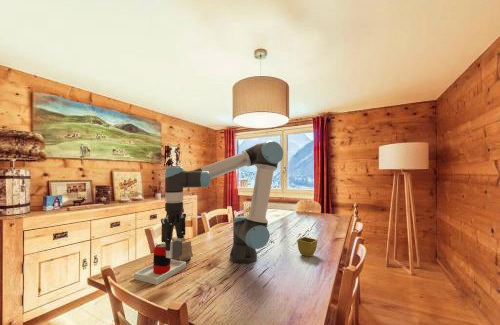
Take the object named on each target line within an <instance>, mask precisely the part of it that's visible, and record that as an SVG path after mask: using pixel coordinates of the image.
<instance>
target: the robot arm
mask: <svg viewBox="0 0 500 325" xmlns="http://www.w3.org/2000/svg"><path fill="white" fill-rule="evenodd" d="M283 159H284V149H283V147H282V146H281V144H280V143H279V142H278V141H275V140H266V141H264V142H259V143H256V144H255V145H253V146H251V147H248V148H246V149H244V150H242V151H241V153H238V154H234V155H232V156H229V157H226V158H224V159H221V160H218V161H216V162H213V163H209V164H207V165H204V166H201V167H199V168H197V169H196V168H195V169H193V170H188V171H187V170H184V167H183V166H167V167H166V168H165V176H164V186H165V187H164V190H165V191H164V192H165V194H164V196H165V198H164V199H165V200H164V201H165V202H164V211H165V212H166V215H165V217H164V218H161V219H160V223H161V237H160V238H161V240H160V241H161V243H165V244H166V247H165V250H166V258H172V247H173V242H172V237H173V232H174V228H175V235H176V237H178V238H176V241H182V238H185V236H186V217H187V214H186V213H183V212H182V211H183V210H184V189H185V188H208V187H209V186H210V184H211V180H212V179H214V178H217V177H220V176H223V175H225V174H228V173H230V172H233V171H236V170H238V169H241V168H244V167H248V168H249V167H252V166H255V167H256V174H255V180H254V184H253V185H254V186H253V191H252V196H251V202H250V207H249V213H248V215H242V216H241V215H239V216H235V217H233V222H232V226H233V227H232V232H233V233H232V234H233V235H232V243H233V244H232V246H231V250H230V253H229V259H230V261H231V262H233V263H237V264H249V263H254V262H256V261H257V260H258V252H257V250H259V249H262V248H264V247H265V246H267V244H268V242H269V240H270V231H269V229H268V224H269V221H268V219H267V218H266V217H267V211H268V205H269V200H270V194H271V188H272V183H273V182H272V181H273V177H274V172H276V170H278V166H279V163H280V162H281V161H282V160H283Z"/></svg>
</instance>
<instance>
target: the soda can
mask: <svg viewBox="0 0 500 325" xmlns="http://www.w3.org/2000/svg"><path fill="white" fill-rule="evenodd" d="M165 247H166V244H165V242H161V243H158V244H156V245H155V246H154V247H153V260H152V261H153V262H152V264H153V272H154V273H155V274H164V273H167V272H168V271H170V263H171V259H170V258H165Z"/></svg>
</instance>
